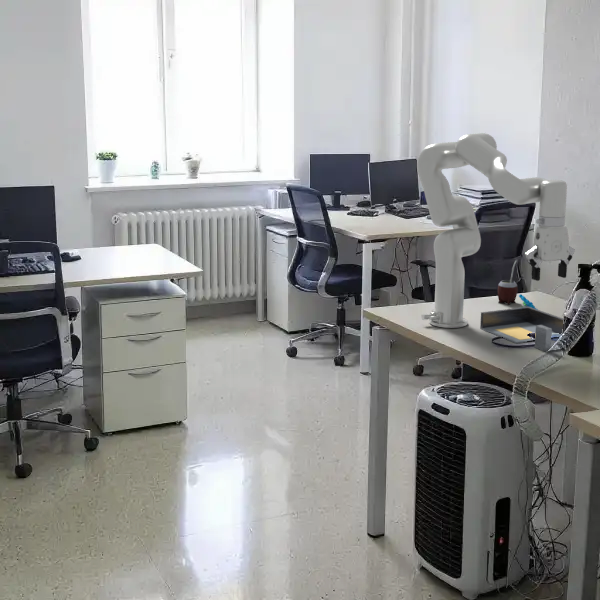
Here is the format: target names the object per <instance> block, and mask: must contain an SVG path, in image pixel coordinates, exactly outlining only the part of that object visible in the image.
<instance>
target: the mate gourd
mask: <svg viewBox="0 0 600 600" xmlns="http://www.w3.org/2000/svg"><path fill="white" fill-rule="evenodd" d="M517 261H518V260H515V261H514V263H513V266H512V268H511V273H510V274H511V275H510V279H509V280H508V279H504V280H501V281H499V283H498V285H497V297H498V304H506V305H508V306H510V305H511V304H516V299H517V295H518V291H519V288H518V284H517V282H515V280H513V275H514V271H515V266H516V263H517Z"/></svg>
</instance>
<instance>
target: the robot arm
mask: <svg viewBox="0 0 600 600" xmlns="http://www.w3.org/2000/svg"><path fill="white" fill-rule="evenodd" d="M497 147H498V146H497V142H496V140H495V138H494V137H493V136H492V135H490V134H488V133H486V132H485V133H483V132H481V133H480V132H479V133H469V134H468V133H467V134H465V135H462V136H461V137H460V138H458V140H457V141H451V142H450V141H449V142H436V143H432V144H429V145H427V146H426V147H423V149H422V150H421V151H420V153H419V155H418V157H417V162H416V170H417V174H418V178H419V181H420V182H421V185H422V189H423V192H424V197H425V201H426V204H427V208H428V211H429V213H428V214H429V216H430V219H431V221H432V223H433V224H434V225H435V226H436V227H441V228H445V227H446V228H447V227H452V229H448V230H444V231H442V232H440V233H438V235H437V236H436V237H435V239H434V241H433V254H434V257H435V258H434V260H435V283H434V284H435V285H434V286H435V287H434V290H435V291H434V309H431V312H429V313H423V314H421V320H423V321H427V320H429V324H430V325H431V326H434V327H437V328H438V327H439V328H446V329H457V328H463V327H466V326H467V325H468V319H466V318H464V305H465V304H464V300H465V299H464V298H465V297H464V296H465V276H466V275H465V273H466V272H465V267H464V263H463V261H462V258H463V257H468V256H472V255H474V254H476V253H477V252H478V251H479V250H480V247H481V243H482V238H481V232H480V228H479V225H478V221H477V218H476V214H475V211H474V207H473V205H472V203H471V201H469V200H468V199H467V198H466V197H464V196H461V195H453V193H452V191H451V190H452V189H451V186H450V183H449V180H448V179H447V177H446V176H445V175H444V173H443V172H442V171H443V170H447V169H459V168H462V167H466V166H471V167H473V169H475V170H477V171H478V172H479V173H481V174H483V175H484V176H485V177H486V178H487V179H488V182H489V184H490V186H491V187H492V189H493V190H494V191H495V192H496V193H497V194H498V195H499V196H501V197H503V199H506V200H507V201H509V202H510V203H512V204H514V205H517V206H518V205H519V206H520V205H526V204H528V205H529V204H535V203H539V212H538V213H539V215H538V219H536V220H535V223H536V224H537V225H538V226H536V230H535V235H534V241H533V247H532V248H531V249H529V250H527V251H526V252H525V253H524V255H525V259H526V261H527V263H528V264H529V266H530V267H531V274H530V275H531V280H533V281H537V282H538V281H540V280H541V267H540V265H541V264H542V262H553V261H559V263H558V267H557V276H558V277H560V278H563V279H566V278H567V271H568V265H569V264H570V261H571V260H572V259H573V256H574V254H575V252H576V250H575V248H574V247H571V246H570V240H569V239H570V238H569V230H568V226H567V225H566V211H567V193H568V191H567V189H568V183H567V182H566V181H564V180H560V179H546V178H543V177H527V178H518V177H517V176H515V175H514V174H512V173H511V172H509V170H507V168H506V166H507V164H508V163H507V162H508V158H507V156H506V155H505V154H504V153H503V152H502V151H500V150H499V149H498V148H497Z"/></svg>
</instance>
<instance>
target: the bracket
mask: <svg viewBox="0 0 600 600" xmlns="http://www.w3.org/2000/svg"><path fill="white" fill-rule="evenodd" d="M551 336H552V329H551V328H548V327H546V326H543V325H536V332H535V341H534V348H535V349H537V350H540V351H542V352H545V353H546V351H548V350H549V349H550V348H551V347H552V346H553V345H554V343H555V342H557V341H556V340H554V339H553V340H552V339H551ZM548 352H549V351H548Z"/></svg>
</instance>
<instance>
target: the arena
mask: <svg viewBox="0 0 600 600" xmlns="http://www.w3.org/2000/svg"><path fill="white" fill-rule="evenodd" d="M537 309H538V308H536V309H534V308H531V307H522V306H521V307H514V308H506V309H499V310H498V309H497V310H492V311H491V310H490V311H483V312H480V327H479V328H480V329H481V330H483V331H485V332H488V333H490V334H492V335H495V336H497V337H500V338H502V337H503V338H502V339H504V338H505V339H504V340H506V339H507V341H509V342H512V343H514V344H516V343H518V344H524V343H523V342H525V343H528V342H527V341H531V340H535V339H531V338H530V337H529V336H527V334H529V333H532V332H536V325H543V326H546V327H548V328H551V329H552V333H559V334H561V333H562V329H563V320H564V319H565V318H562V317H560V316H557V315H554V314H551V313H548V312H545V311H542V310H540V309H538V310H537Z"/></svg>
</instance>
